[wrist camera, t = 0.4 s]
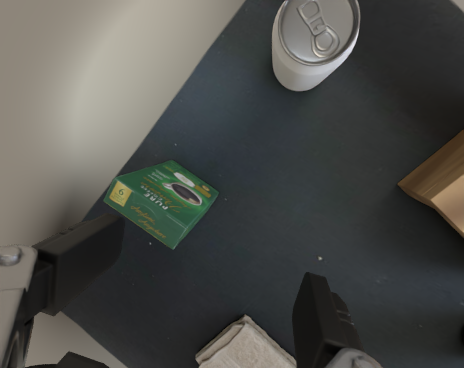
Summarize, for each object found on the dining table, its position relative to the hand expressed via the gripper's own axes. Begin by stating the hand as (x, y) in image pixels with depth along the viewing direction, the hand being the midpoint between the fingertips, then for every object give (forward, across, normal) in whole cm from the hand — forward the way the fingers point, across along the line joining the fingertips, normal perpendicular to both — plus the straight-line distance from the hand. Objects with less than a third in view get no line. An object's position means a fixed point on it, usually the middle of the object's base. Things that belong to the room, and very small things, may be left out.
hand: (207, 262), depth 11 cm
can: (+24, -2, -14) cm, 27 cm away
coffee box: (+24, +8, +4) cm, 25 cm away
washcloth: (+24, -9, +29) cm, 39 cm away
